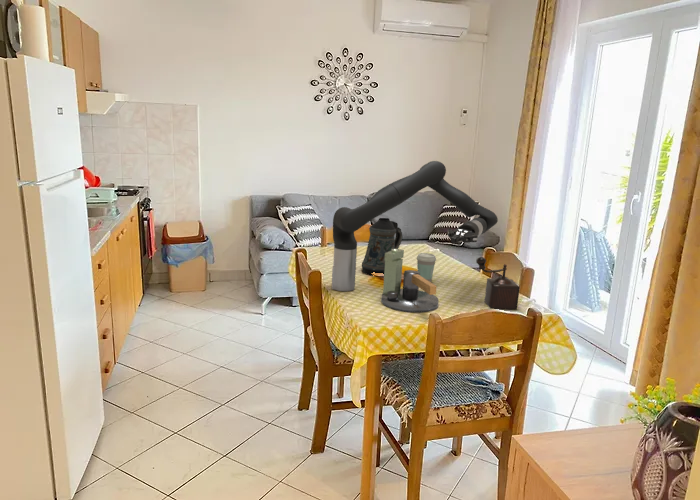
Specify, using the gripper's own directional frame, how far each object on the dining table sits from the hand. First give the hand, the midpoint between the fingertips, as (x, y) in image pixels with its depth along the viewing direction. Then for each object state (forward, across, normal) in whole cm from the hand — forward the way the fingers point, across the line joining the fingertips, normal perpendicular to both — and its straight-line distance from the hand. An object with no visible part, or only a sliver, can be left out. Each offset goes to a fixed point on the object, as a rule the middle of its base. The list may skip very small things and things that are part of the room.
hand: (453, 240), depth 202 cm
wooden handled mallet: (+16, -4, +22) cm, 27 cm away
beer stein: (-19, -41, +30) cm, 54 cm away
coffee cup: (-19, -18, +28) cm, 39 cm away
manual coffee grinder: (-9, +17, +25) cm, 31 cm away
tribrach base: (+12, -10, +25) cm, 29 cm away
